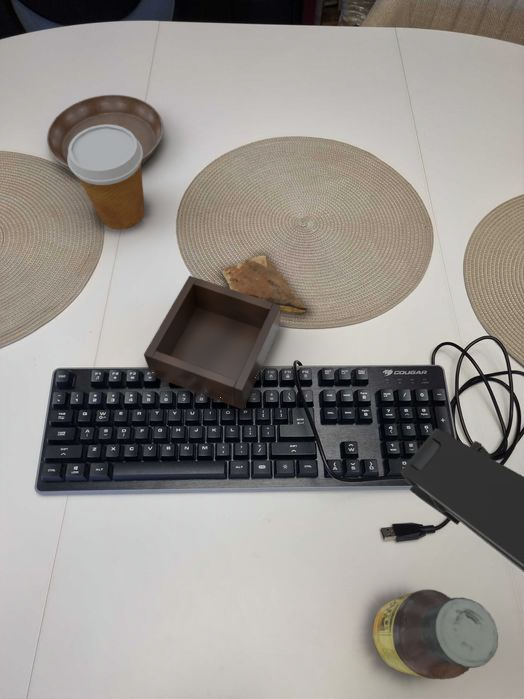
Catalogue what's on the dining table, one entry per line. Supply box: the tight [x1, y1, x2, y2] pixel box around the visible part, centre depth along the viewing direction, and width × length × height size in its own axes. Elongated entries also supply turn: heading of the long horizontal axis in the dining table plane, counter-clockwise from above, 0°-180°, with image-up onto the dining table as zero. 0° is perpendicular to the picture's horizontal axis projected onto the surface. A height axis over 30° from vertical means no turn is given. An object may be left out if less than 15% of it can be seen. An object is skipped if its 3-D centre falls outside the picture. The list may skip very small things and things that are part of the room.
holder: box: [143, 275, 282, 411], centre depth 65 cm, size 12×12×6 cm
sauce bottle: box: [372, 588, 499, 680], centre depth 43 cm, size 6×6×20 cm
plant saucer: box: [46, 94, 164, 169], centre depth 84 cm, size 18×18×3 cm
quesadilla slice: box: [221, 254, 308, 314], centre depth 71 cm, size 11×8×2 cm
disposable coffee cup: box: [67, 125, 145, 230], centre depth 73 cm, size 10×10×12 cm
